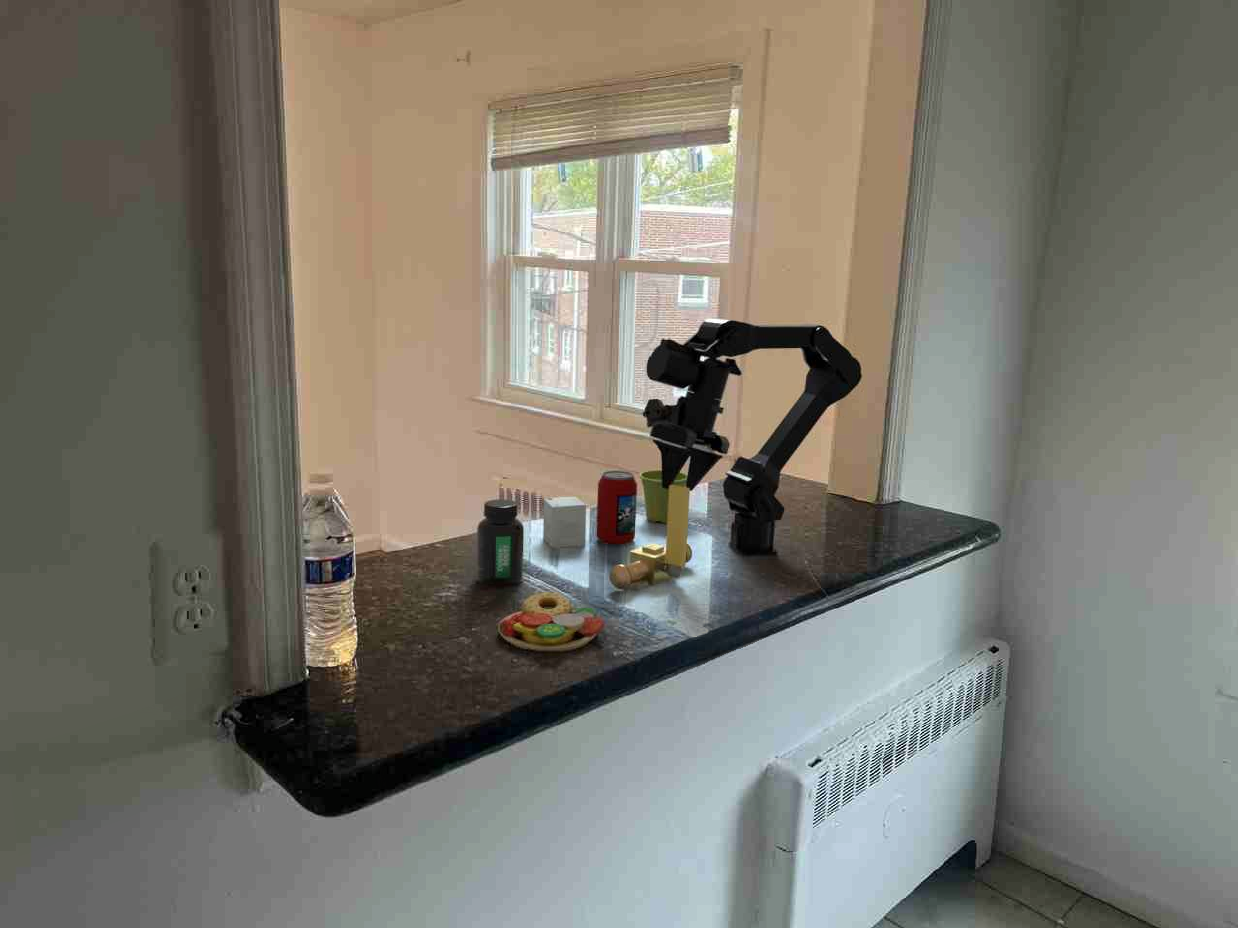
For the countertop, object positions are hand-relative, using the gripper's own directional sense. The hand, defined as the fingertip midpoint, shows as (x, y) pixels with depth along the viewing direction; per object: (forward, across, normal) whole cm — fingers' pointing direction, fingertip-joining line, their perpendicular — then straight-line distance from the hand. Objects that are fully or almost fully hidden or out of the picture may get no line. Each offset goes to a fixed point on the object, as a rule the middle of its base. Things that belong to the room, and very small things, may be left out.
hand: (677, 489), depth 145 cm
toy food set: (+20, +33, +3) cm, 38 cm away
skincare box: (+15, -1, -18) cm, 24 cm away
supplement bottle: (+20, +21, -15) cm, 32 cm away
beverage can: (+13, -6, -11) cm, 18 cm away
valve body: (+14, +7, +3) cm, 15 cm away
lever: (+12, +8, +7) cm, 16 cm away
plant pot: (+9, -24, -12) cm, 28 cm away
